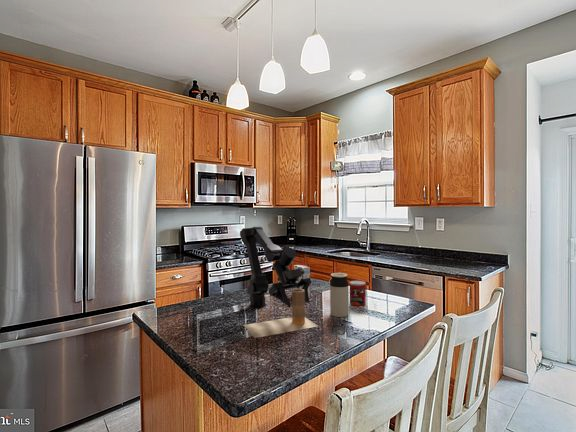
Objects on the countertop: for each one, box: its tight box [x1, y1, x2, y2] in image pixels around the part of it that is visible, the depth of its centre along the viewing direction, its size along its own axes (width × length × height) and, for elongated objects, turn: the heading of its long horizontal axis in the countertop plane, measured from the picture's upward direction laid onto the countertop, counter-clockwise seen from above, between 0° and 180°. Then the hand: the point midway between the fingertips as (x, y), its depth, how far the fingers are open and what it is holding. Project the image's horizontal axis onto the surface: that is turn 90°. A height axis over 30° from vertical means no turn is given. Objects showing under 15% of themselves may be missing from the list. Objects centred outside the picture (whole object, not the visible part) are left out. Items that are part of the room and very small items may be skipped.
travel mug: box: [329, 272, 350, 318], centre depth 140 cm, size 8×8×18 cm
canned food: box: [349, 280, 367, 308], centre depth 155 cm, size 8×8×11 cm
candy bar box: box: [293, 264, 311, 299], centre depth 171 cm, size 11×5×16 cm, turn 25°
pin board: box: [243, 316, 319, 339], centre depth 124 cm, size 26×14×5 cm, turn 114°
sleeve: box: [291, 288, 306, 325], centre depth 127 cm, size 5×5×13 cm
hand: (299, 304), depth 126 cm, fingers open, 9 cm apart
